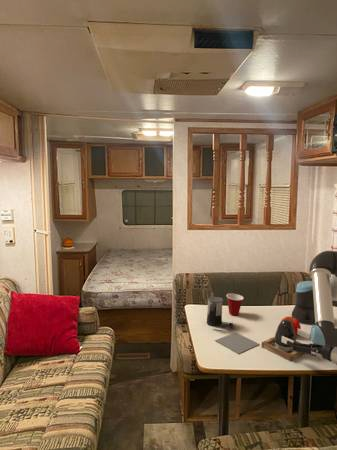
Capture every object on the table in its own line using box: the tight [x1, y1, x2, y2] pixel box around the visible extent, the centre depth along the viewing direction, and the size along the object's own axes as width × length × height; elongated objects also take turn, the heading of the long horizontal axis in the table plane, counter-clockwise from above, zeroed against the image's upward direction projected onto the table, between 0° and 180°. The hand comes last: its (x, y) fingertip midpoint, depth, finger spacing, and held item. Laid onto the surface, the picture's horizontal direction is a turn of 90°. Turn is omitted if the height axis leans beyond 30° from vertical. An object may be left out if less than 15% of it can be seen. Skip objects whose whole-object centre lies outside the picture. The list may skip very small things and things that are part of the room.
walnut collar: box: [261, 336, 305, 362], centre depth 158 cm, size 16×16×2 cm
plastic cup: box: [226, 293, 244, 317], centre depth 199 cm, size 11×11×12 cm
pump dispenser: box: [274, 319, 297, 353], centre depth 157 cm, size 10×10×15 cm
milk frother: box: [206, 296, 236, 328], centre depth 183 cm, size 14×16×15 cm
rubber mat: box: [214, 331, 260, 355], centre depth 163 cm, size 16×16×1 cm
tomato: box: [281, 316, 302, 336], centre depth 174 cm, size 11×11×9 cm
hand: (290, 335), depth 154 cm, fingers open, 13 cm apart
